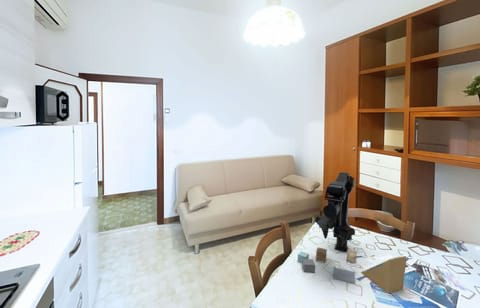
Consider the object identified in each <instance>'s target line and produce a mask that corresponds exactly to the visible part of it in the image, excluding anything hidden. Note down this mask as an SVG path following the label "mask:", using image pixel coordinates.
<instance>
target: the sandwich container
mask: <svg viewBox="0 0 480 308" xmlns="http://www.w3.org/2000/svg"><path fill="white" fill-rule="evenodd" d="M406 264H407V256H406V255H404V256H397V257H393V258H390V259H388V260H385V261H383V262H381V263H379V264H377V265H374V266H372V267H370V268H367V269H365V270H363V271H361V272H360V274H362V275H363V276H364V277H366V278H367V279H369V280H370V281H371V282H372V283H373V284H374V285H376V286H377V287H378V288H380V289H381V290H383V291H385V292H386V293H387V294H390V293H395V292H399V291H403V290H404V285H405V283H404V282H405V273H406Z"/></svg>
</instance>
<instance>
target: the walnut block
mask: <svg viewBox="0 0 480 308" xmlns="http://www.w3.org/2000/svg"><path fill="white" fill-rule="evenodd" d="M327 251H328V250H327V248H322V247H318V246H317V249H316V253H315V255H316V256H315V261H317V262H321V263H326V260H327Z"/></svg>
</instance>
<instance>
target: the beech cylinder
mask: <svg viewBox="0 0 480 308" xmlns="http://www.w3.org/2000/svg"><path fill="white" fill-rule="evenodd" d="M346 261H347V263H350V264H356V263H357V251H356V250H354V249H349V248H348V250H347V251H346Z"/></svg>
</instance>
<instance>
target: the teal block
mask: <svg viewBox="0 0 480 308" xmlns="http://www.w3.org/2000/svg"><path fill="white" fill-rule="evenodd" d="M309 256H310V253H308V252H304V251H303V250H302V251H300V252H299V253H297V263H300V264H302V259H310V257H309Z"/></svg>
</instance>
